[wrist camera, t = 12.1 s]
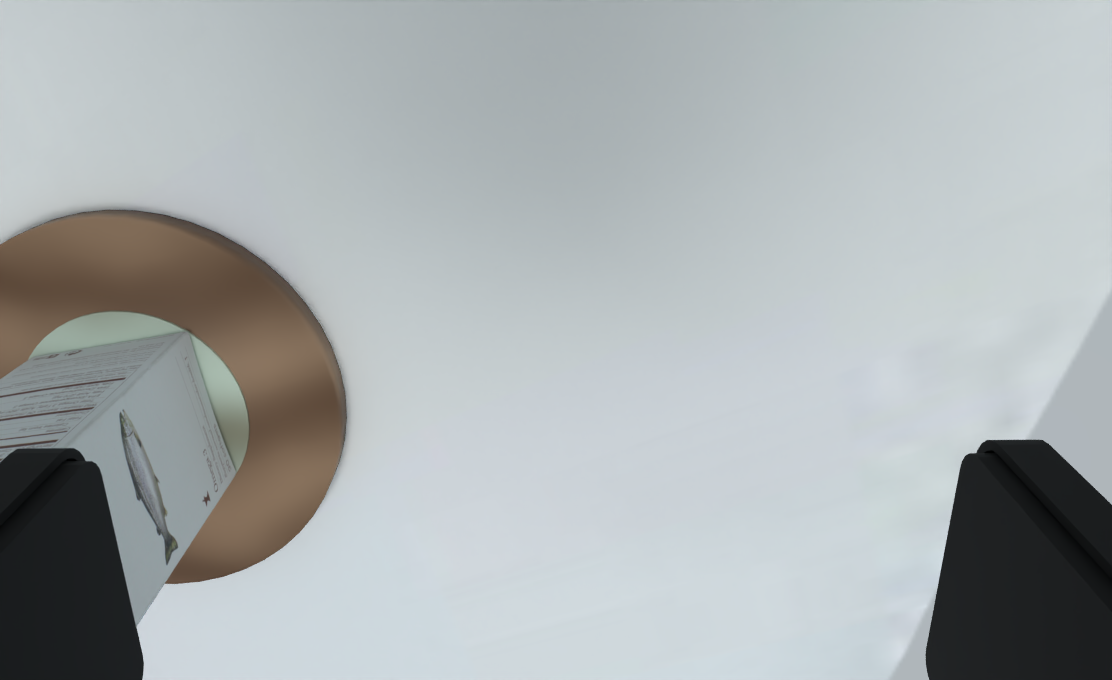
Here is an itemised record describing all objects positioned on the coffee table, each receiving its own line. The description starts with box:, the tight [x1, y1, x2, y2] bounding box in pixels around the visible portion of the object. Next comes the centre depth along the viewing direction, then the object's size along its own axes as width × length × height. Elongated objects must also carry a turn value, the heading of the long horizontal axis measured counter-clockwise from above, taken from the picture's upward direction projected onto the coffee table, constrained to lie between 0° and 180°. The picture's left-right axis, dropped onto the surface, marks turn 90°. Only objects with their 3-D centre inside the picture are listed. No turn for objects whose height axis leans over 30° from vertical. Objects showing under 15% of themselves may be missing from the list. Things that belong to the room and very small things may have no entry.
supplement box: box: [0, 332, 236, 627], centre depth 35 cm, size 7×7×13 cm
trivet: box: [0, 210, 347, 584], centre depth 41 cm, size 18×18×2 cm
